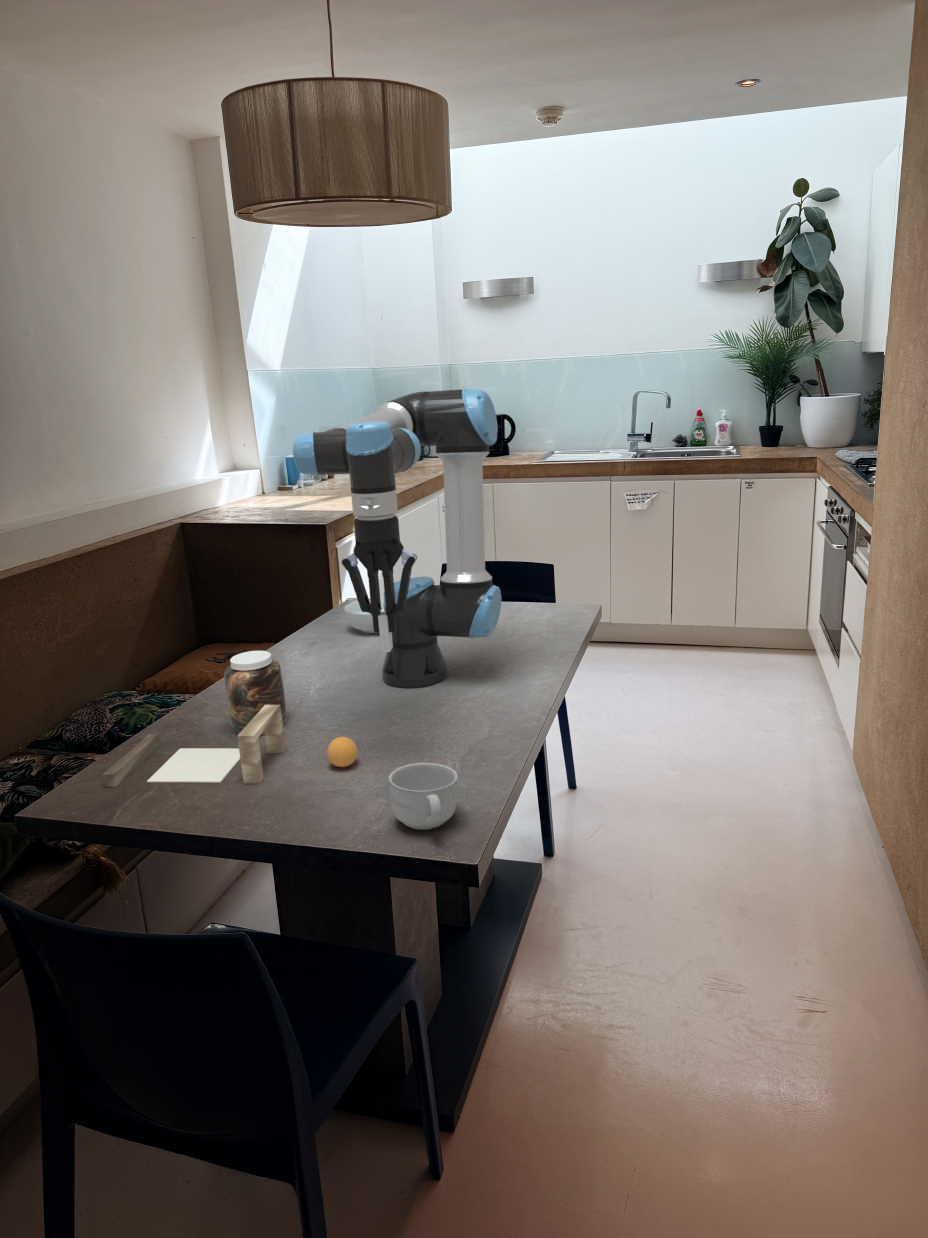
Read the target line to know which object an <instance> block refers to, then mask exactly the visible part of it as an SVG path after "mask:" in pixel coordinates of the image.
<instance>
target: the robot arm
mask: <svg viewBox="0 0 928 1238" xmlns="http://www.w3.org/2000/svg"><path fill="white" fill-rule="evenodd" d="M498 430H499V428H498V420H497V413H496V409H495V406H494V403H493V400H492V398H491V396H490V395H489V393H487V391H485V390H483V389H475V388H471V389H469V388H463V389H452V390H451V389H450V390H449V389H448V390H433V391H432V390H431V391H423V390H422V391H418V392H417V391H416V392H412V393H409V394H406V395H403V396H400V397H397V398H394V399H391V400H389V401H386V402H384V403H382V404H380V405H378V406H377V407H376V408H375V410H373V412H372V413H370V414H367V415H365V416H362V417H359V418H358V419H355V420H352V421H349V422H347V423H344V424H342V425H340V426H336V427H335V428H331V429H328V430H325V431H321V432H320V431H319V432H315V431H311V432H306V433H304V432H303V433H299V435H297V437H295V440H294V442H293V446H292V454H293V461H294V465H295V467H296V469H297V470H298V471H299V472H300V473H301V474H303V475H312V476H313V475H314V476H316V477H318V476H323V475H325V476H326V475H349V481H350V482H349V483H350V496H351V497H350V498H351V507H352V515H353V516H354V517H356V518H355V519H354V520H353V527H354V539H355V540H354V541H355V545H354V547H353V551H352V553H351V554H350V555H347V556H345V557H344V558H343V559H342V560H341V564H342V566H343V567H344V568H345V570H346V571H347V573H348V575H349V578H350V582H351V584H352V588H353V591H354V593H355V596H356V598H357V601H358V602H359V605H360V608H361V611H362V612H368V613H370V614H371V615H372V617H373V629H374V632H375V633H376V634H379V642H380V652H381V653H385V657H384V662H383V665H382V673H381V674H382V680H383V682H384V683H385V684H386V685H389V686H391V687H397V688H403V689H404V688H413V689H414V688H421V687H427V686H432V685H436V684H437V683H440V682H442V681H443V680H445V679H446V677H447V676H448V669H447V668H448V667H447V663H446V661H445V658H444V655H443V653H442V651H441V649H440V646H439V644H438V643H439V642H438V637H451V638H452V637H454V638H470V639H474V638H488V637H489V636H491V635H492V634H493V633H494V631H495V630H496V627H497V624H498V622H499V620H500V619H499V618H500V614H501V610H502V609H501V608H502V594H501V589H500V586H496V585H495V584H493V576H492V575H491V574H490V572H488V571H487V570H486V555H485V551H486V550H485V517H484V516H485V515H484V514H485V513H484V512H485V511H484V506H485V505H484V476H483V475H484V474H483V471H484V470H483V469H484V468H483V465H484V464H483V461H484V460H485V458H486V457H487V456H488V455H489V454H490V446H492V445H494V444H495V443H497V439H498ZM422 447H435V455H436V456H437V458H439V460H441V462H442V466H443V468H442V470H443V471H442V472H443V497H444V498H443V499H444V525H445V526H444V527H445V530H444V531H445V551H446V553H445V555H446V572H445V573H444V574H443V575H442V576H441V577H440V578H439V579H440V584H439V585H438V584H435V581H434V579H433V578H432V577H431V576H416V577H411V576H412V569H413V566H414V565H415V563H416V561H417V559H418V557H417V554H415V553H410V552H408V551H406V550H405V549H404V548H405V547H404V545H403V543H402V542H401V538H400V536H401V535H400V521H399V517H398V516H397V515H396V514H397V513H398V498H397V486H396V474H399V473H404V472H406V471H409V469H411V468H412V467H414V466H416V464H417V463H418V461H419V460H420V458H421V453H422V452H421V451H422ZM400 558H401V565H403V567H402V570H401V577H400V580H398V581H394V566H396V564H397V562H398V561H399V559H400ZM359 562H360V563H361V565H363V567H364V568H365V569H366V574H367V578H368V579H367V580H368V589H369V596H368V592H367V589H366V586H365V583H364V582H363V581H364V580H363V578H362V574H361V571H360V568H359V567H358V565H359ZM379 571H381V574H382V578H383V579H382V580H383V588H384V589H383V599H384V605H383V607H384V612H381V609H382V607H381V601H380V599H381V591H380V579H379ZM369 599H370V601H369ZM370 602H371V604H370Z"/></svg>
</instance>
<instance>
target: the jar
mask: <svg viewBox="0 0 928 1238" xmlns="http://www.w3.org/2000/svg"><path fill="white" fill-rule="evenodd" d="M229 661H230V665H229V666H228V667H226V668H225V670H224V672H223V676H224V677H223V678H224V688H225V689H224V690H225V696H226V702H227V710H228V718H229V723H230V724H229V725H230V729H231V732H232V733H233V734H235V735H236V736H238V734H239V733H240V732H241V731H242V730H243V729H244V728H245V727H246V726H247V724H248V723H249V722H250V721H251V720H252V719H253V718H254V717H255V716H256V714H257V713H258V712H259V711H260V710H261V709H262V708H263V707H264V706H265V705H280V707H281V715H282V723H283V728H284V727H285V726H286V725H287V724H288V711H287V703H286V697H285V688H284V682H283V675H282V674H283V673H282V667H281V665H280V664H281V663H279V661H278V660H276V659H272V653H271V652H270V651H267V650H249V651H243V652H241V653H237V654H236V655H234V656H232V657H231V658H230V660H229ZM260 736H265V731H263V733H262V734H261V735H260Z"/></svg>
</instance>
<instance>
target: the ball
mask: <svg viewBox="0 0 928 1238" xmlns="http://www.w3.org/2000/svg"><path fill="white" fill-rule="evenodd" d="M326 751H327V752H326V753H327V758H328V760H329V762H330V763H331V764H332V765H333V766H336V767H339V768H346V767H348V766H350V765H352V764H354V762H355V761H356V759H357V757H358V747H357V744H356V742H355V741H354V740H353V739H352V738H350V737H346V736H338V737H336V738H334V739H333V740H332V741H331V742H330V743H329V744H328V746H327V750H326Z"/></svg>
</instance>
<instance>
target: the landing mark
mask: <svg viewBox="0 0 928 1238" xmlns="http://www.w3.org/2000/svg"><path fill="white" fill-rule="evenodd" d="M240 761H241V760H240V752H239V747H238V748H225V747H224V748H222V747H221V748H218V747H217V748H215V747H214V748H210V747H209V748H205V747H204V748H201V747H200V748H199V747H198V748H197V747H196V748H193V747H192V748H191V747H190V748H186V747H185V748H179V749H178V750H177V751H176V752H175V753H174V754H173V755H172V756H171V757H169V758H168V759H167V761H166V762H164V764H163V765H161V767H160V768H158V770H157V771H155V773H153V774H152V775H151V777H149V779H147V780H146V783H210V784H211V783H214V784H216V783H221V782H222V781H223V780H224V779H225V778H226V776H227V775H228V774H229V773H230V772H231V771H232V769H234V767H235V766H236V765H237V763H238V762H240Z"/></svg>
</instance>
